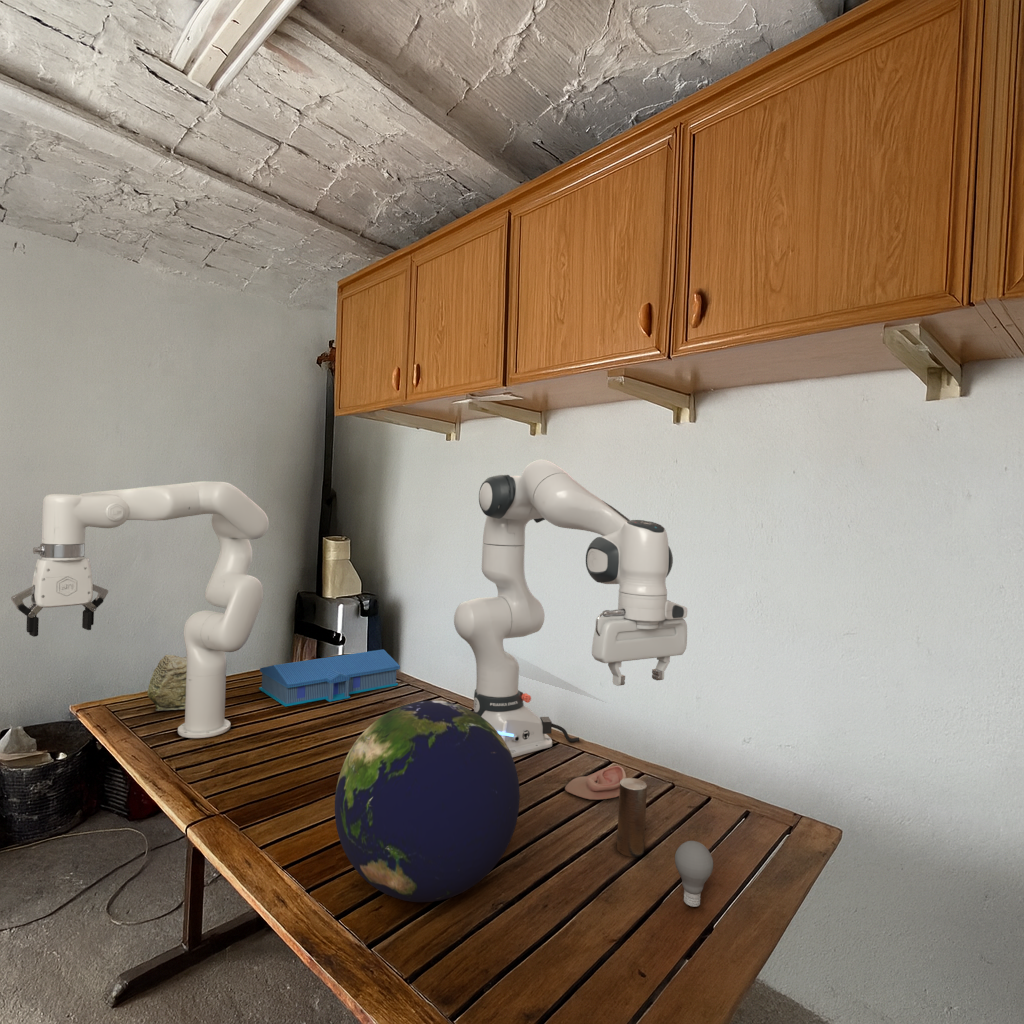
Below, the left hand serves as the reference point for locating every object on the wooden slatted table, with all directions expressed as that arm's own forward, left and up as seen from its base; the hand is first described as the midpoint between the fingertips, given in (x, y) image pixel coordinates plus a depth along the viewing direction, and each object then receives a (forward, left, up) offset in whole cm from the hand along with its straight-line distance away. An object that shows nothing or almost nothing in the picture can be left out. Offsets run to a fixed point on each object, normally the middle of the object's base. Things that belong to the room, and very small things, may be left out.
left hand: (60, 632), depth 135 cm
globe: (+72, +51, -32) cm, 94 cm away
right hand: (+82, +90, -1) cm, 121 cm away
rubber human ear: (+60, +100, -32) cm, 121 cm away
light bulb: (+98, +86, -32) cm, 135 cm away
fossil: (-40, +29, -32) cm, 59 cm away
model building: (-38, +73, -32) cm, 88 cm away
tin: (+82, +90, -32) cm, 125 cm away
